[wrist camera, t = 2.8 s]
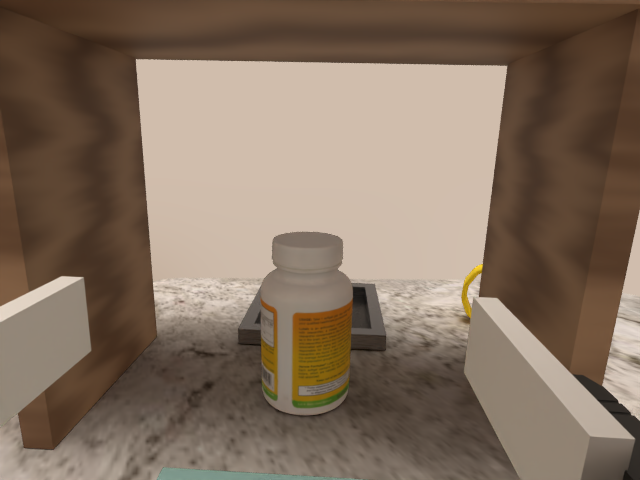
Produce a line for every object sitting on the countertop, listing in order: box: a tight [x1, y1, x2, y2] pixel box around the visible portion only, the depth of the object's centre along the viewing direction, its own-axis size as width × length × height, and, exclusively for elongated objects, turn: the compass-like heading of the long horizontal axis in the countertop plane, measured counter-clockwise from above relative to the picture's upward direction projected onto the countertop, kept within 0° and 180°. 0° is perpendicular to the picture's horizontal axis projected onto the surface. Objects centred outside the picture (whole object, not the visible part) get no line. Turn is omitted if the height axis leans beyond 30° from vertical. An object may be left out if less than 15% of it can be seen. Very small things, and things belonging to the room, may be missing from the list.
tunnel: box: [0, 0, 640, 449], centre depth 23 cm, size 13×27×22 cm, turn 87°
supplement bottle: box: [260, 232, 353, 415], centre depth 25 cm, size 5×5×10 cm
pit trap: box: [238, 283, 386, 350], centre depth 36 cm, size 11×11×1 cm
